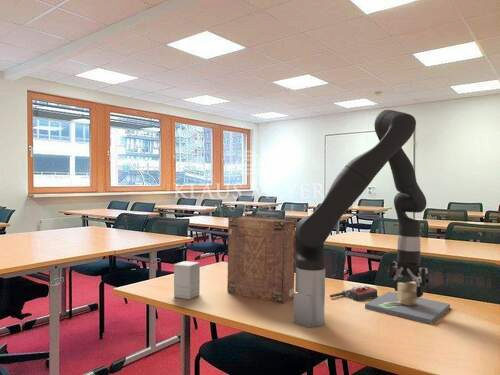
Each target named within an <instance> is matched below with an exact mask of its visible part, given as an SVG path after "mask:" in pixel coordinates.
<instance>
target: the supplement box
mask: <svg viewBox="0 0 500 375" xmlns="http://www.w3.org/2000/svg"><path fill="white" fill-rule="evenodd" d="M200 266H201V265H200V262H197V261H189V260H188V261H186V260H183V261H180V262H177V263H174V264H173V272H174V273H173V297H174V298H178V299H185V300H191V299H193V298H195V297H198V296H200V294H201V293H200V289H201V288H200V287H201V286H200V284H201V282H200V276H201V275H200V273H201V272H200V269H201V267H200Z"/></svg>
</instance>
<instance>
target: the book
mask: <svg viewBox="0 0 500 375" xmlns="http://www.w3.org/2000/svg"><path fill="white" fill-rule="evenodd" d="M227 223H228V224H227V226H228V227H227V228H228V229H227V286H226V288H227V290H226V291H227V293H231V294H235V295H239V296H244V297H250V298H255V299H258V300H263V301H269V302H273V303H278V304H284V303H285V302H288V301H290V300H292V299H294V293H295V265H296V258H295V230H296V220H295V219H290V218H289V219H288V218H287V219H285V218H274V217H264V216H263V217H262V216H261V217H260V216H248V215H247V216H245V215H242V216H240V217H228V221H227Z"/></svg>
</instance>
